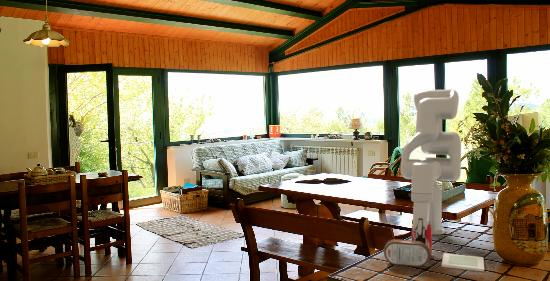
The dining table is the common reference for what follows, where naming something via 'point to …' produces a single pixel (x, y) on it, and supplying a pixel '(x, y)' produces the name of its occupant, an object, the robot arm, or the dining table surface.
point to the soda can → (427, 236)
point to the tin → (407, 253)
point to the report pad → (463, 262)
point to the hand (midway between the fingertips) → (421, 245)
